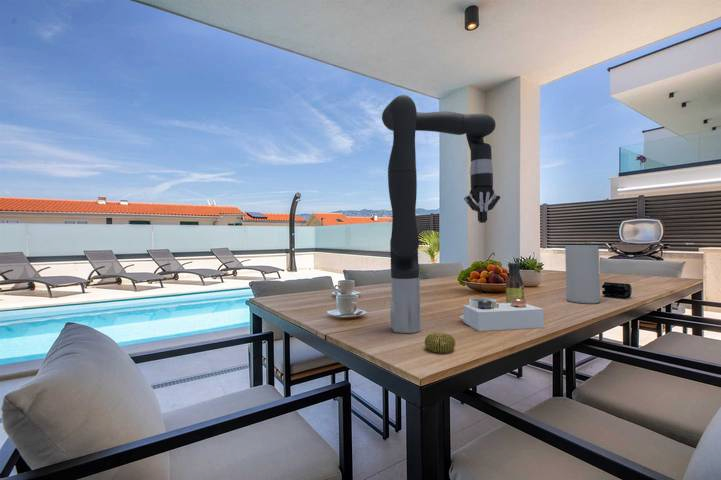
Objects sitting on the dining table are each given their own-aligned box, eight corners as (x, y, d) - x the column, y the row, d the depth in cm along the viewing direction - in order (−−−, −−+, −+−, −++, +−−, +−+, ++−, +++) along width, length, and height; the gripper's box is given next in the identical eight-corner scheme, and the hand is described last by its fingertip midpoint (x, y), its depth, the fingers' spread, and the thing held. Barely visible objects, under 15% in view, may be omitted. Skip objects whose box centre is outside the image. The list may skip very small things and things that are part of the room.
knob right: (516, 325, 113) (515, 300, 113) (508, 322, 118) (508, 298, 118) (529, 324, 114) (528, 299, 114) (521, 321, 118) (520, 297, 118)
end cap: (632, 297, 158) (631, 283, 158) (627, 299, 154) (626, 284, 154) (606, 295, 166) (606, 281, 166) (601, 297, 162) (600, 282, 162)
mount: (478, 331, 108) (478, 312, 108) (463, 322, 120) (463, 305, 120) (543, 327, 110) (543, 309, 110) (522, 319, 122) (521, 302, 122)
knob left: (481, 327, 112) (480, 301, 112) (475, 323, 116) (474, 299, 116) (494, 326, 112) (494, 301, 112) (488, 323, 117) (487, 299, 117)
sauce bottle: (527, 317, 124) (525, 263, 124) (508, 317, 126) (507, 263, 126) (522, 313, 131) (520, 262, 131) (504, 313, 132) (503, 262, 132)
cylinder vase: (605, 301, 150) (603, 245, 150) (592, 305, 143) (591, 246, 143) (574, 298, 160) (573, 245, 160) (561, 301, 153) (559, 246, 153)
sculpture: (418, 334, 91) (436, 329, 97) (418, 349, 91) (436, 343, 97) (443, 341, 85) (461, 335, 91) (443, 357, 85) (461, 350, 91)
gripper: (467, 171, 116) (469, 222, 116) (504, 171, 118) (505, 221, 118) (459, 176, 124) (460, 223, 124) (493, 175, 125) (495, 222, 125)
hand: (482, 222), depth 121 cm, fingers closed
